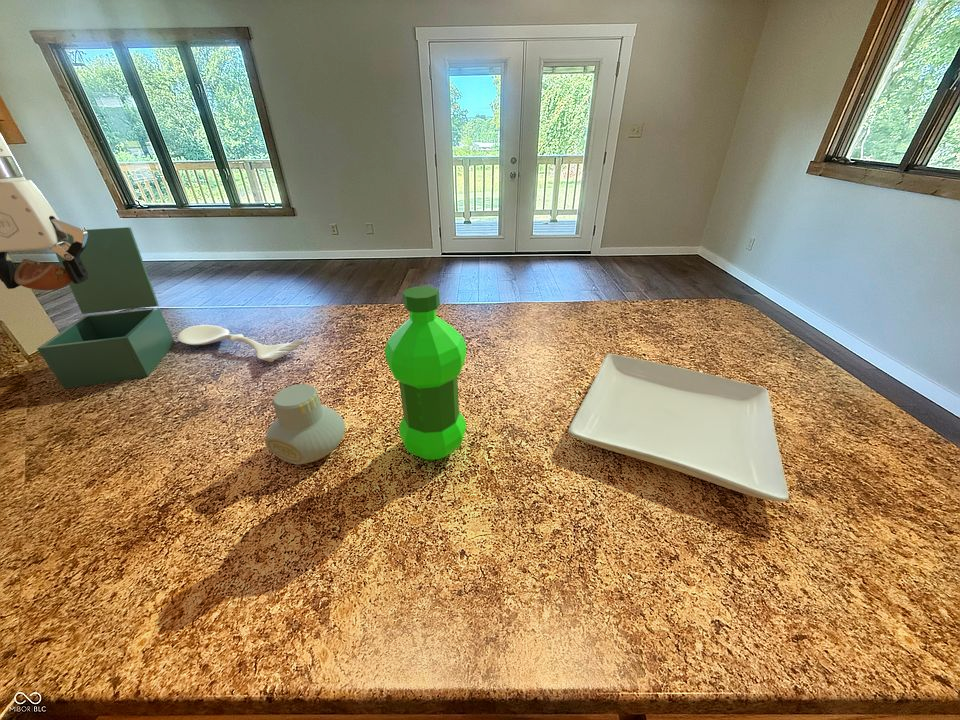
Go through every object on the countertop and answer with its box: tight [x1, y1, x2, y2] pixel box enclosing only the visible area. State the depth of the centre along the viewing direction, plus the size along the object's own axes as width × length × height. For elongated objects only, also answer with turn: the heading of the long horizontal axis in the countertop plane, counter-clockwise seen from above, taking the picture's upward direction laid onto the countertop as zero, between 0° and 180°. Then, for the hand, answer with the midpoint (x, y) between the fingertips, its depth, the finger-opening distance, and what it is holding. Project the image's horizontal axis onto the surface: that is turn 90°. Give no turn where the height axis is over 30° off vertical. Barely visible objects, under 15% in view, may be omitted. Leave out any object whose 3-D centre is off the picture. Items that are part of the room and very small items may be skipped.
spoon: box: [177, 324, 305, 363], centre depth 85 cm, size 9×32×4 cm, turn 68°
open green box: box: [36, 307, 176, 390], centre depth 78 cm, size 16×14×9 cm
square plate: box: [568, 353, 790, 503], centre depth 61 cm, size 27×27×4 cm
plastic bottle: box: [384, 285, 467, 461], centre depth 52 cm, size 10×10×25 cm
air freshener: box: [264, 383, 346, 465], centre depth 56 cm, size 11×8×10 cm
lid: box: [55, 226, 160, 315], centre depth 79 cm, size 16×14×1 cm
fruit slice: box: [14, 258, 72, 291], centre depth 65 cm, size 8×7×5 cm
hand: (49, 283), depth 65 cm, fingers closed on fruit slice, 8 cm apart
